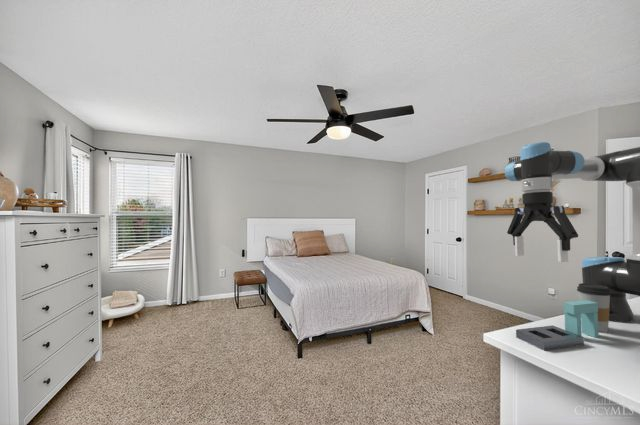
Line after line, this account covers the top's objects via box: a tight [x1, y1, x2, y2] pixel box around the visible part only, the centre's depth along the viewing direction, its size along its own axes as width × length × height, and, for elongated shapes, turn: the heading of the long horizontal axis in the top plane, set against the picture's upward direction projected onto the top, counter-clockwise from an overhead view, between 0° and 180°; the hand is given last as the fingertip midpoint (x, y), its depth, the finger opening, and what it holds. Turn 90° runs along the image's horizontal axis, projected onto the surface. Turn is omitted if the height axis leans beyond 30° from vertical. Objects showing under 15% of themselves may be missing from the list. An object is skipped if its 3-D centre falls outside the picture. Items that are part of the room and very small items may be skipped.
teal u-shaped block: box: [563, 300, 599, 339], centre depth 87 cm, size 10×4×11 cm, turn 101°
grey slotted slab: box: [515, 325, 585, 352], centre depth 84 cm, size 15×9×2 cm, turn 101°
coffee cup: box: [576, 282, 611, 333], centre depth 92 cm, size 8×8×15 cm
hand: (539, 258), depth 84 cm, fingers open, 13 cm apart
